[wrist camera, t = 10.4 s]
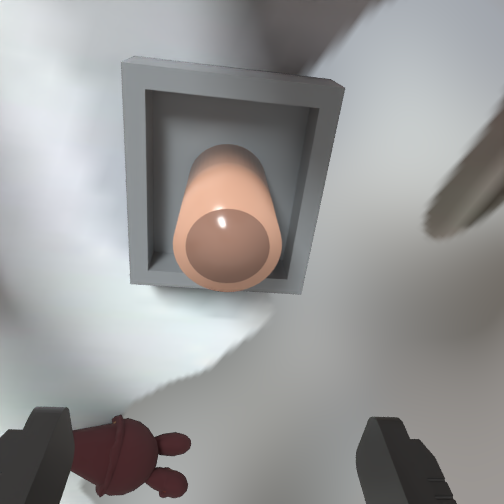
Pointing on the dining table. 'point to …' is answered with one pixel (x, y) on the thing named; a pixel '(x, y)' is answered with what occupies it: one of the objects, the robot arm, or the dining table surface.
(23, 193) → the dining table surface
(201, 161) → the terracotta cup
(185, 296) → the dining table surface
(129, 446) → the icecream
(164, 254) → the slate tray
